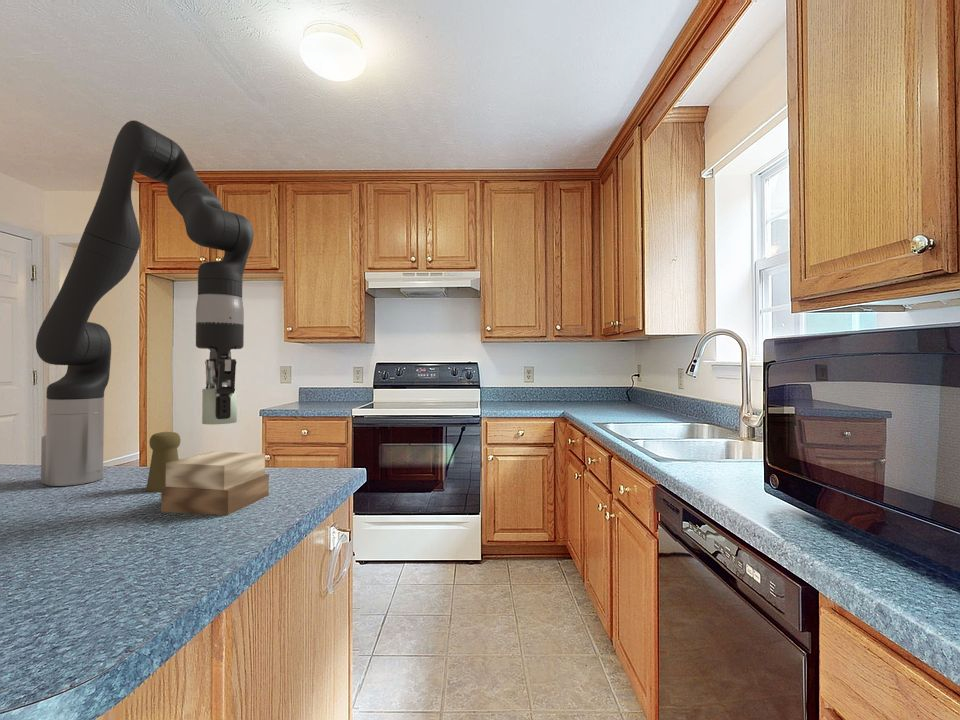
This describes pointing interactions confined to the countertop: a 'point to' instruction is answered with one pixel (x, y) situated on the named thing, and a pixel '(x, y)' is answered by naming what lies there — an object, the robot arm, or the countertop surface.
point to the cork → (161, 458)
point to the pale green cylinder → (210, 408)
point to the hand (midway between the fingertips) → (219, 416)
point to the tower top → (215, 470)
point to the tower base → (214, 498)
